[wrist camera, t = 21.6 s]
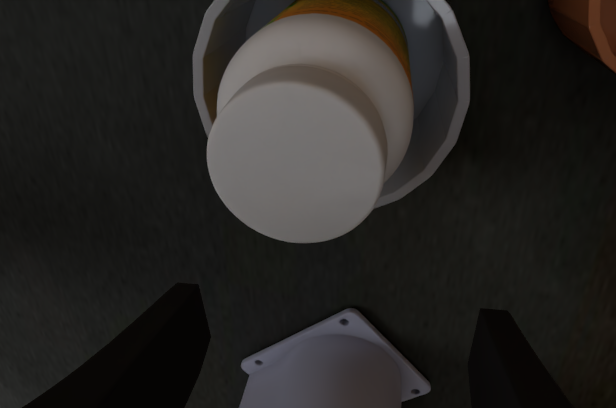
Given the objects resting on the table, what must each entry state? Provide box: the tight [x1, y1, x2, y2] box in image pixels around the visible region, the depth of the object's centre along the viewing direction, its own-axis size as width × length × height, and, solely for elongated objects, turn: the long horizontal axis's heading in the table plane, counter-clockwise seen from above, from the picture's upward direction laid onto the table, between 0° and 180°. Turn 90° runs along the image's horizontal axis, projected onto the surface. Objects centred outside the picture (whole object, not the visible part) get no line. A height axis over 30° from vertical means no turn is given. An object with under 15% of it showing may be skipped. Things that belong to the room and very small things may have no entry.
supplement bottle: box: [207, 0, 414, 243], centre depth 14 cm, size 5×5×10 cm
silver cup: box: [193, 0, 470, 209], centre depth 15 cm, size 12×8×5 cm
